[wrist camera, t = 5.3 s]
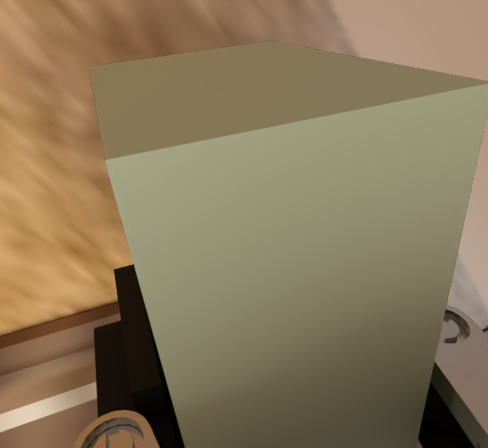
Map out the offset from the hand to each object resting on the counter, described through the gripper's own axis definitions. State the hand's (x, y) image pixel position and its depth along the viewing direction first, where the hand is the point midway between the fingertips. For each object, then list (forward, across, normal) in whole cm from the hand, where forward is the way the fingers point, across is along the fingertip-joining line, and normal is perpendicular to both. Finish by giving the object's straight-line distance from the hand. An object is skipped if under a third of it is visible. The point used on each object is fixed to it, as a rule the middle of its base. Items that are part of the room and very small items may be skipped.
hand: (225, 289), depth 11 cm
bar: (+1, 0, 0) cm, 1 cm away
